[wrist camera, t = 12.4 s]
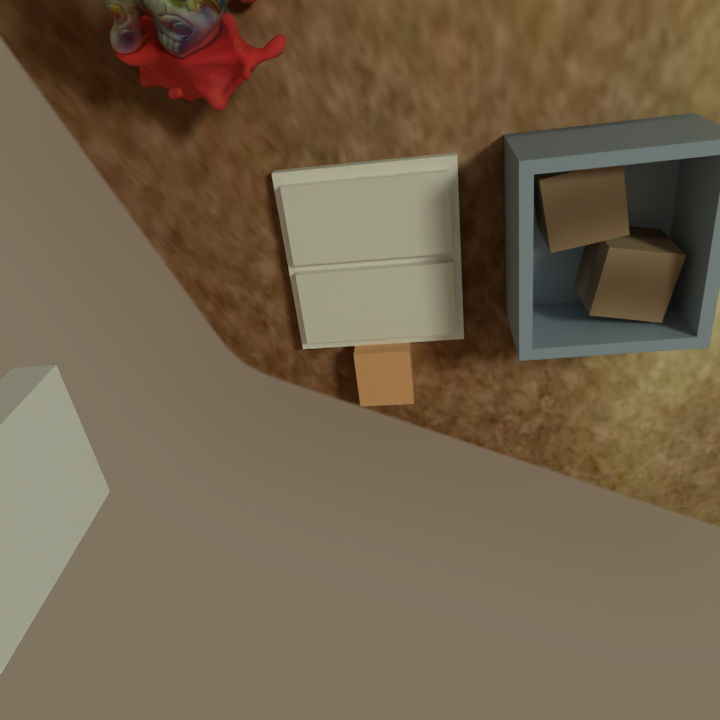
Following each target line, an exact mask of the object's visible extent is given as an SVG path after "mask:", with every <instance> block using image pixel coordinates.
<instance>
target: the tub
mask: <svg viewBox="0 0 720 720" xmlns="http://www.w3.org/2000/svg"><path fill="white" fill-rule="evenodd" d="M619 165H624V177H625V188H626V199H627V211H628V222H629V226H633V227H643V228H653V229H661V230H662V231H663V232H664V233H665V234H666V235H667V236H668V237H669V238H670V239H671V240H672V241H673V242H674V243H675V244H676V245H677V246H678V247H679V248H680V249H681V250H682V251H683V252H684V253H685V254H686V257H685V260H684V263H683V266H682V268H681V271H680V274H679V277H678V279H677V282H676V285H675V288H674V290H673V293H672V296H671V299H670V301H669V304H668V307H667V310H666V312H665V315H664V318H663V321H662V323H659V322H649V321H640V320H630V319H620V318H611V317H601V316H591V315H589V314H588V312H587V310H586V308H585V306H584V304H583V302H582V300H581V298H580V296H579V295H578V293H577V291H576V289H575V287H574V284H575V280H576V276H577V273H578V269H579V265H580V262H581V258H582V255H583V251H584V247H585V245H584V246H580V247H576V248H571V249H567V250H563V251H559V252H554V253H550V251H549V249H548V247H547V245H546V243H545V241H544V239H543V237H542V235H541V233H540V231H539V229H538V224H537V217H536V211H535V205H534V174H544V173H553V172H563V171H572V170H581V169H591V168H600V167H610V166H619ZM504 186H505V262H506V314H507V318H508V321H509V325H510V329H511V332H512V336H513V340H514V343H515V347H516V351H517V354H518V358H519V361H524V360H538V359H553V358H567V357H581V356H596V355H610V354H625V353H639V352H653V351H668V350H682V349H696V348H709V345H710V339H711V333H712V327H713V321H714V315H715V309H716V303H717V298H718V292H719V286H720V125H719V124H717V123H715V122H713V121H710V120H708V119H706V118H704V117H702V116H700V115H698V114H696V113H691V114H683V115H674V116H665V117H656V118H647V119H639V120H630V121H621V122H612V123H604V124H595V125H586V126H577V127H569V128H560V129H551V130H542V131H533V132H525V133H516V134H507V135H504Z"/></svg>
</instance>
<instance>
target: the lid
mask: <svg viewBox="0 0 720 720" xmlns="http://www.w3.org/2000/svg"><path fill="white" fill-rule="evenodd" d="M271 174H272V180H273V185H274V191H275V196H276V202H277V208H278V213H279V219H280V224H281V230H282V235H283V241H284V247H285V252H286V258H287V263H288V269H289V274H290V280H291V285H292V291H293V297H294V302H295V308H296V313H297V319H298V324H299V330H300V336H301V341H302V347H303V349H313V348H329V347H345V346H355V349H354V362H355V370H356V377H357V384H358V392H359V399H360V406H379V405H399V404H414V379H413V367H412V356H411V344H410V342H424V341H439V340H455V339H464V323H463V296H462V270H461V244H460V217H459V191H458V164H457V152H456V153H446V154H436V155H426V156H416V157H406V158H396V159H386V160H376V161H366V162H356V163H346V164H335V165H325V166H315V167H305V168H295V169H285V170H275V171H273V172H272V173H271Z"/></svg>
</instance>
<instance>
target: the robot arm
mask: <svg viewBox="0 0 720 720" xmlns="http://www.w3.org/2000/svg"><path fill="white" fill-rule="evenodd" d="M109 492H110V491H109V488H108V486H107V484H106V481H105V479H104V477H103V474H102V472H101V469H100V467H99V465H98V462H97V460H96V458H95V456H94V453H93V451H92V448H91V446H90V444H89V441H88V439H87V437H86V434H85V432H84V430H83V427H82V425H81V423H80V420H79V418H78V416H77V413H76V411H75V408H74V406H73V404H72V402H71V399H70V397H69V394H68V392H67V390H66V387H65V385H64V383H63V380H62V378H61V376H60V373H59V371H58V369H57V366H56V365H51V366H38V367H25V368H14V369H12V370H11V371H10V372H9V373H8V374H7V375H6V376H5V377H4V378H3V379H2V380H1V381H0V674H1V673H2V671H3V669H4V668H5V666H6V664H7V663H8V661H9V659H10V657H11V656H12V654H13V653H14V651H15V649H16V647H17V646H18V644H19V643H20V641H21V639H22V638H23V636H24V634H25V633H26V631H27V629H28V628H29V626H30V624H31V622H32V621H33V619H34V617H35V616H36V614H37V612H38V611H39V609H40V607H41V606H42V604H43V602H44V601H45V599H46V597H47V596H48V594H49V592H50V591H51V589H52V587H53V586H54V584H55V582H56V581H57V579H58V577H59V576H60V574H61V572H62V570H63V569H64V567H65V566H66V564H67V562H68V561H69V559H70V557H71V555H72V554H73V552H74V550H75V549H76V547H77V545H78V544H79V542H80V540H81V539H82V537H83V535H84V534H85V532H86V530H87V529H88V527H89V525H90V524H91V522H92V520H93V519H94V517H95V515H96V513H97V512H98V510H99V509H100V507H101V505H102V504H103V502H104V500H105V499H106V497H107V495H108V493H109Z"/></svg>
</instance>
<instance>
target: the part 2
mask: <svg viewBox="0 0 720 720" xmlns="http://www.w3.org/2000/svg"><path fill="white" fill-rule="evenodd" d="M629 233H630V235H626V236H622V237H618V238H614V239H609V240H605V241H601V242H597V243H592V244H588V245H585V247H584V251H583V255H582V258H581V262H580V265H579V269H578V273H577V276H576V280H575V284H574V287H575V289H576V291H577V293H578V295H579V296H580V298H581V300H582V302H583V304H584V306H585V308H586V310H587V312H588V314H589V315H591V316H601V317H611V318H620V319H630V320H640V321H649V322H659V323H662V321H663V318H664V315H665V312H666V310H667V307H668V304H669V301H670V299H671V296H672V293H673V290H674V288H675V285H676V282H677V279H678V277H679V274H680V271H681V268H682V266H683V263H684V260H685V257H686V254H685V253H684V252H683V251H682V250H681V249H680V248H679V247H678V246H677V245H676V244H675V243H674V242H673V241H672V240H671V239H670V238H669V237H668V236H667V235H666V234H665V233H664V232H663V231H662V230H661V229H653V228H643V227H633V226H629Z"/></svg>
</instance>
